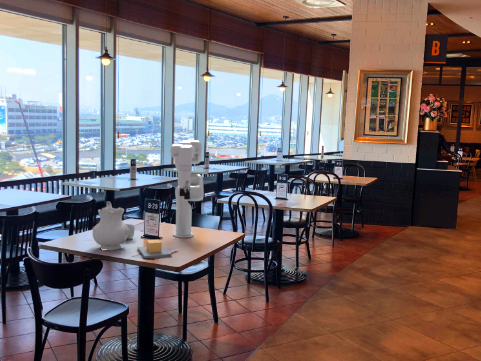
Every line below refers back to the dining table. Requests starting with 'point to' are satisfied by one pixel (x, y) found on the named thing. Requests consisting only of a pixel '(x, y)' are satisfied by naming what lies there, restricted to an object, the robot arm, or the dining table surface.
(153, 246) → the yellow rounded block
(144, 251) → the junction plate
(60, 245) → the dining table surface
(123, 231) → the ceramic pitcher
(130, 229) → the teacup
